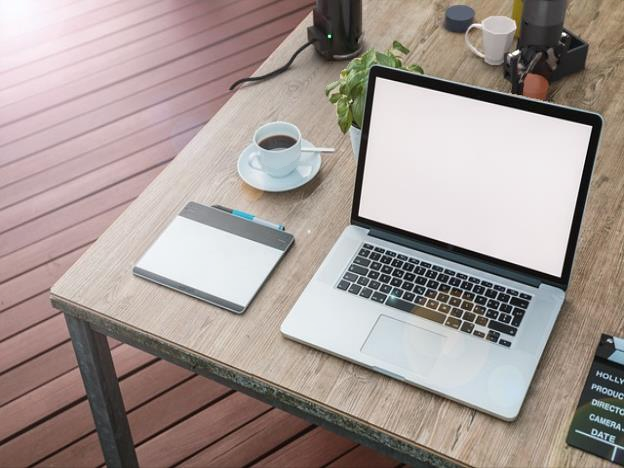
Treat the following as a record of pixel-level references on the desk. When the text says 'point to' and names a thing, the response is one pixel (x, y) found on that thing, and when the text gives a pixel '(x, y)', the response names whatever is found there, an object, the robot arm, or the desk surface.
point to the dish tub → (573, 58)
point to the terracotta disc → (535, 87)
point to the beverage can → (517, 15)
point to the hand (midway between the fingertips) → (530, 90)
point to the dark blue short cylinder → (459, 18)
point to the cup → (494, 38)
